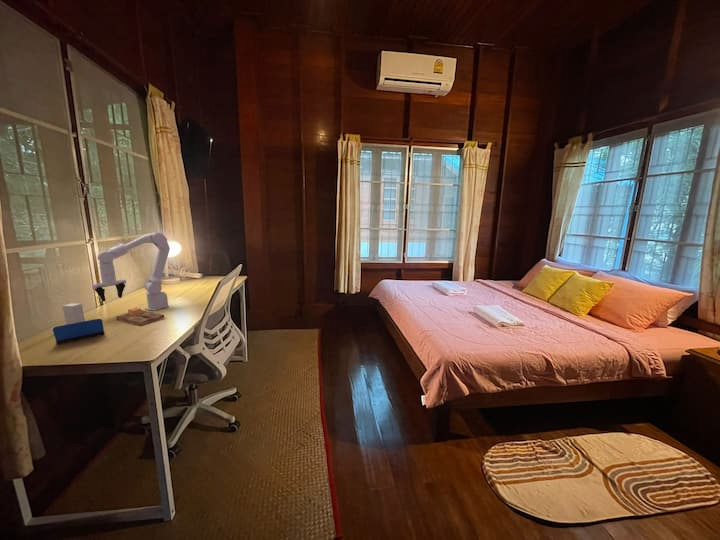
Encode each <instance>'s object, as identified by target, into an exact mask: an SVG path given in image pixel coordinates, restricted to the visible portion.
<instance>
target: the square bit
mask: <svg viewBox="0 0 720 540" xmlns="http://www.w3.org/2000/svg"><path fill="white" fill-rule="evenodd" d="M141 310H142V309H141V308H140V307H133V308H129V309H127V312H128V313H129V316H131V317H133V316H137V315H141Z"/></svg>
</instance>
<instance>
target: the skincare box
mask: <svg viewBox="0 0 720 540" xmlns="http://www.w3.org/2000/svg"><path fill="white" fill-rule="evenodd" d="M61 306H62V312H63V318H64V324H65V325H67V324H73V323H78V322H83V321H86V320H85V314H84V309H83V303H74V302H73V303H67V304H64V305H61Z"/></svg>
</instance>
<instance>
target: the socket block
mask: <svg viewBox="0 0 720 540" xmlns="http://www.w3.org/2000/svg"><path fill="white" fill-rule="evenodd" d="M115 317H116V318H115V319H116V321H118V320H119V322H122V321H123V323H126V322H127V324H130V323H132V324H131V325H134V324H136V325H135V326H138V325H141V326H145V325H147V323H148V324H151V323H154V322H157V320H158V321H160V319H161V320H163V318H164V319H165V314H162V313H157V312H154V311H150V310H148V311H147V310H145V309H144V310H143V309H141V315H137V316H133V317H131V316H129V313H123V314H120V315H116V316H115ZM153 321H154V322H153ZM150 322H151V323H150ZM144 324H145V325H144Z"/></svg>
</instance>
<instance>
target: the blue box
mask: <svg viewBox="0 0 720 540" xmlns="http://www.w3.org/2000/svg"><path fill="white" fill-rule="evenodd" d="M52 332H53V335H54V338H55V342H56V345H63V344H67V343H71V342H75V341H79V340H85V338H86V339H90V337H91V338H94V337H95V336H96V337H100V336H99V335H101V336H104V335H105V330H104V324H103V319H101V318H95V319H90V320H89V319H88V320H85V321H83V322H78V323H73V324H67V325H66V324H64V325H63V324H62V325H57V326H54V327H53V328H52ZM62 343H63V344H62Z"/></svg>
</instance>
